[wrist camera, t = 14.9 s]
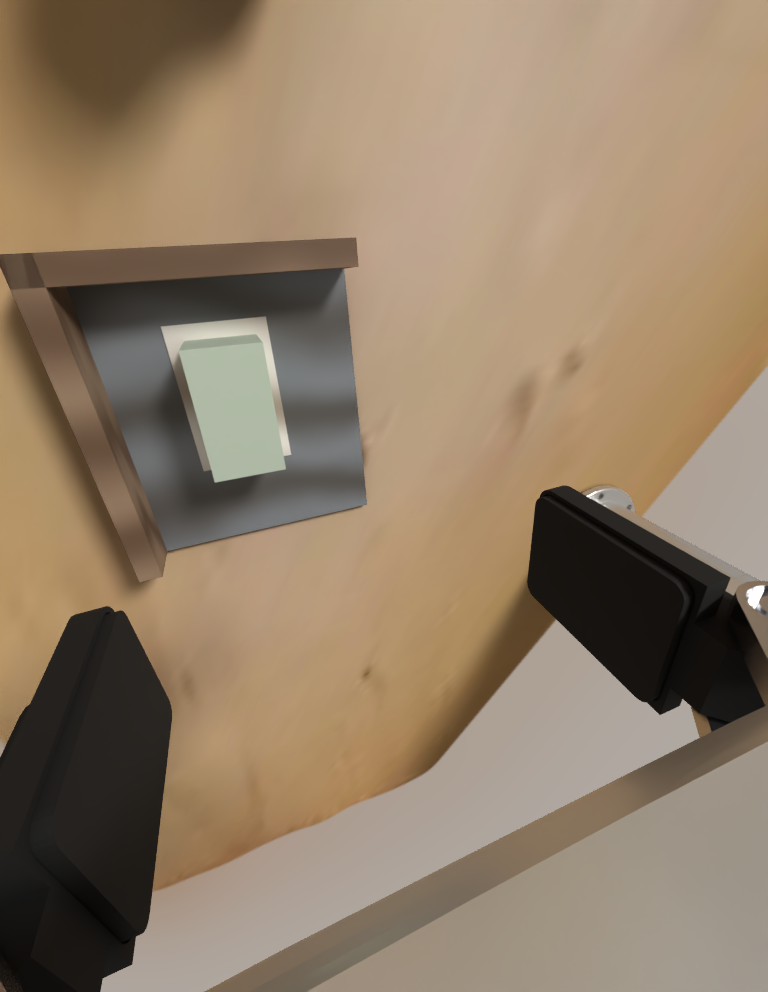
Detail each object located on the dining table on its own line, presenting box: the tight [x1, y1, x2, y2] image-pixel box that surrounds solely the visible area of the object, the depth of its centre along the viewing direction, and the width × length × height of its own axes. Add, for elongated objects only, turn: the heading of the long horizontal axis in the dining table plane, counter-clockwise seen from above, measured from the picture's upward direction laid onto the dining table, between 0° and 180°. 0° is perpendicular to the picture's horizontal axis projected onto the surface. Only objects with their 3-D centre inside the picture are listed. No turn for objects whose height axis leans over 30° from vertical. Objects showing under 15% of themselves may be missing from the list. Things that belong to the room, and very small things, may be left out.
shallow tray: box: [0, 238, 367, 582], centre depth 29 cm, size 20×18×4 cm
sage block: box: [179, 334, 286, 483], centre depth 27 cm, size 4×8×5 cm, turn 4°
